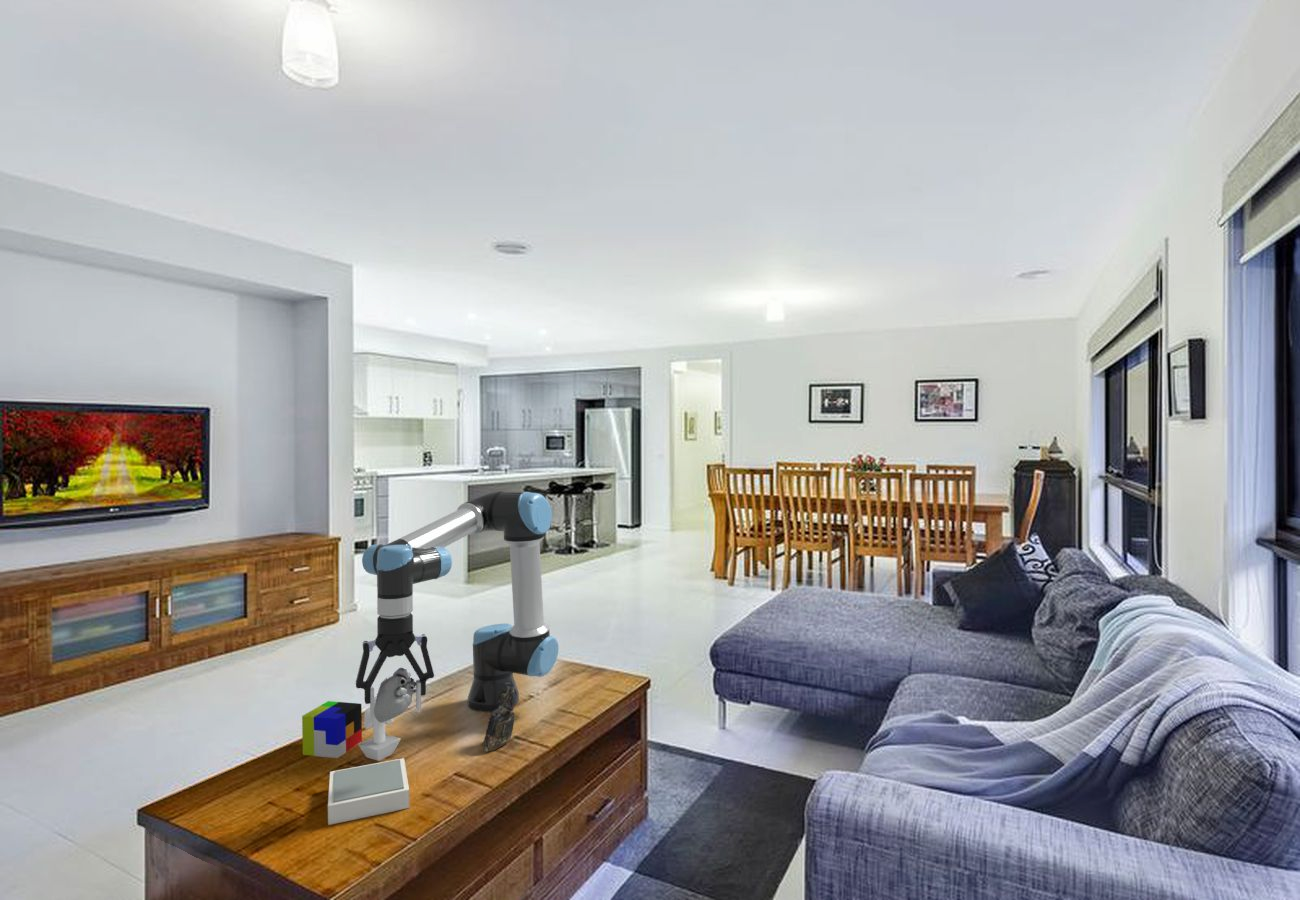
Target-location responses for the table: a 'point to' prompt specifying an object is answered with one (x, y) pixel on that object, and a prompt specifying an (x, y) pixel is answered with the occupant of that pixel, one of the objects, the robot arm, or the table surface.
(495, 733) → the statue
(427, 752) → the table surface
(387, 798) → the plinth
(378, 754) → the figurine
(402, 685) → the heart
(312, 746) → the puzzle toy
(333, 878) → the table surface
